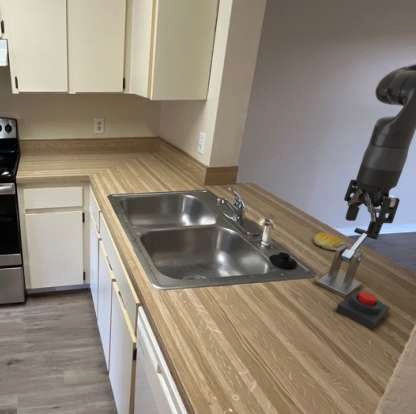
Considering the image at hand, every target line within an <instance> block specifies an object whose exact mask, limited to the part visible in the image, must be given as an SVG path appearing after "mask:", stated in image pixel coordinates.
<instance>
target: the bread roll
mask: <svg viewBox="0 0 416 414" xmlns="http://www.w3.org/2000/svg"><path fill="white" fill-rule="evenodd" d="M313 243H314V244H315V245H317V247H322V248H323V249H325V250H329V251H334V252H336V250H337V249H338V248H339V247H341V246H343V245H345V243H344V241H343V240H342V239H341V238H340V237H339V236H336V235H332V234H331V233H328V232H319V233H317V234H315V235H314V238H313Z"/></svg>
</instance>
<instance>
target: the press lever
mask: <svg viewBox="0 0 416 414" xmlns="http://www.w3.org/2000/svg"><path fill="white" fill-rule="evenodd" d="M366 232H367V229H363V228H359V227H355V229H354V231H353V233H356V234H357V235H360V236H359V238H357V240H355V242H354V244H353V245H352V246H351V247H350V248H349V249H348V248H347V249H346V250H345V251H344V252H343V254H342V255H341V260H342V262H344V263H347V264H350V261H351V258H352V256H353V255H354V254H355V253H356V252H357V250H358V249H359V248H360V247H361V245H362V244H363V243H364V241H365V240H366V239H367V238H370V239H373V240H375V241H377V240H378V239H379V236H380V234H378V236H368V235H367V234H366Z"/></svg>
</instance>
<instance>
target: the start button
mask: <svg viewBox="0 0 416 414" xmlns="http://www.w3.org/2000/svg"><path fill="white" fill-rule="evenodd" d="M359 292H360V293H359V296H358V300H359V301H360V302H362V303H364V304H366V305H370V306H374V305H375V303H376V300H377V299H378V298H377V297H376V295H374V294H372V293H370V292H367V291H366V292H365V291H359Z"/></svg>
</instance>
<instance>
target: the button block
mask: <svg viewBox="0 0 416 414" xmlns="http://www.w3.org/2000/svg"><path fill="white" fill-rule="evenodd" d="M360 292H361V291H357V290H355V291H354V292H352V293H351V294H350V295H349V296H347V297H346V298H344V299H343V300H342V301H341V302H339V303H338V305H337V308H336V312H337V313H339V314H341V315H343V316H345V317H347V318H349V319H351V320H354V321H355V322H357V323H359V324H361V325H363V326H364V327H366V328H369V329H371V330H372V329H374V328H375V327H376V325H378V324H379V323H380V322H381V321H382V319H384V318H385V317H386V316H387V315H388V313H389V311H390V309H391V306H389V305H386V304H384V303H383V302H382V301H381V300H379V299H378V298H377V300H376V303H375V305H374V306H370V305H366V304H364V303H362V302H360V301H359V300H358V296H359V293H360Z"/></svg>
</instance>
